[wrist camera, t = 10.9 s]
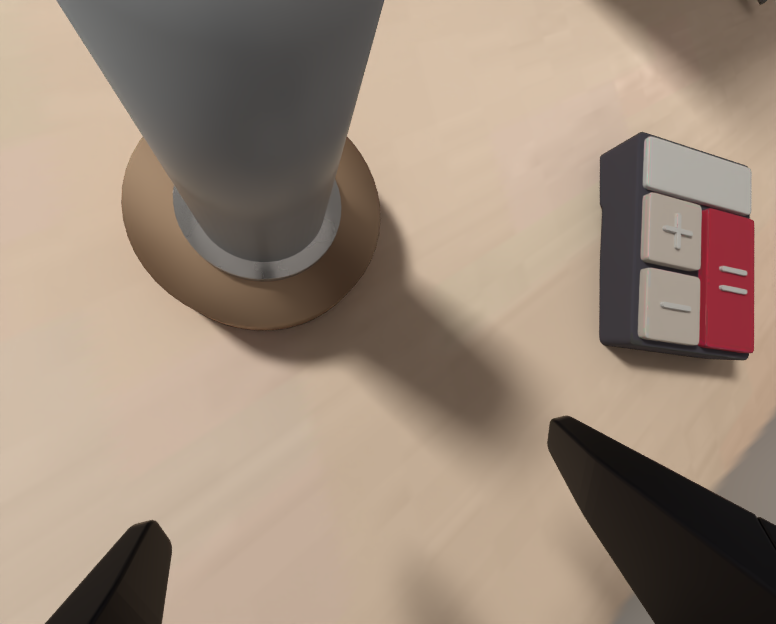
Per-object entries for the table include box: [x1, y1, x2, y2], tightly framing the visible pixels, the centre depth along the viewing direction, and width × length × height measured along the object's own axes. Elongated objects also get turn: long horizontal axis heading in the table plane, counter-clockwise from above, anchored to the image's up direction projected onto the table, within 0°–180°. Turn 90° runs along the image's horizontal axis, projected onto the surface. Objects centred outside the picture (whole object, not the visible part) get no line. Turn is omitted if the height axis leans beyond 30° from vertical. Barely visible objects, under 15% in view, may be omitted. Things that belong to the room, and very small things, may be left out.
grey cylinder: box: [57, 0, 384, 281], centre depth 12 cm, size 8×8×13 cm
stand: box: [121, 137, 380, 330], centre depth 19 cm, size 12×12×3 cm
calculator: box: [599, 132, 754, 360], centre depth 27 cm, size 11×4×15 cm
